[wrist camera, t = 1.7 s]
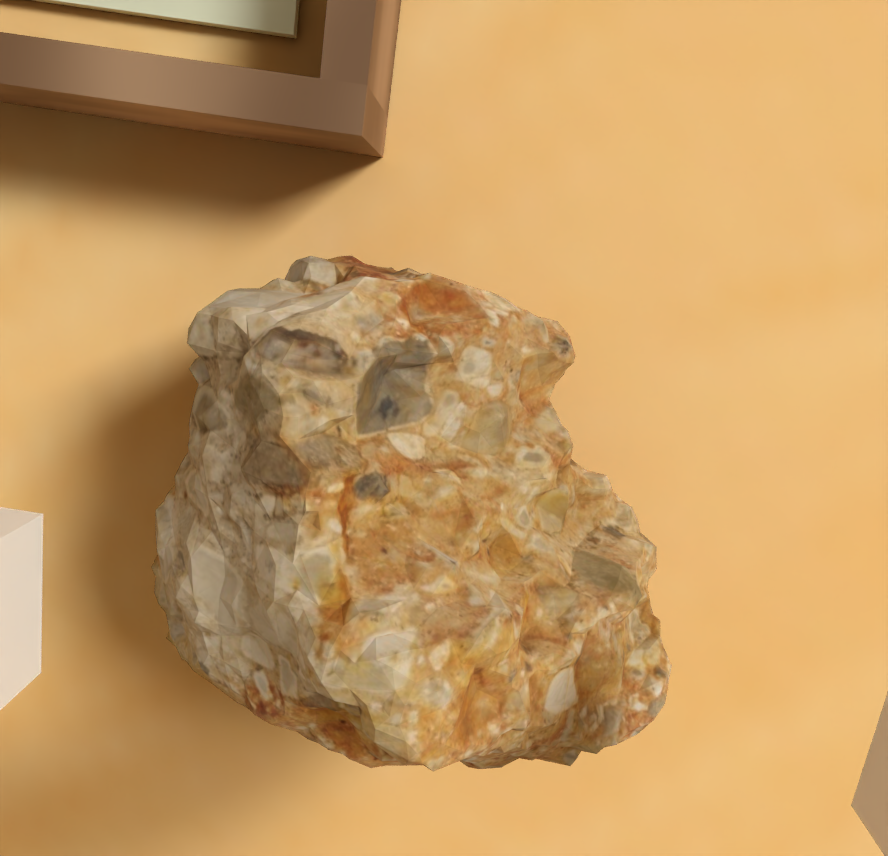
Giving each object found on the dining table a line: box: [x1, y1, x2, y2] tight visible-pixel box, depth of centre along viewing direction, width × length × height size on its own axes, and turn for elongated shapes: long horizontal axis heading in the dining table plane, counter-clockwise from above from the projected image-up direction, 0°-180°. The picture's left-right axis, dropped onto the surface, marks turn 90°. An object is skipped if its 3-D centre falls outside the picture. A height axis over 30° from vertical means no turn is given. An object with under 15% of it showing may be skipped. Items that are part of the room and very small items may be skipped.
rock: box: [152, 256, 672, 771], centre depth 16 cm, size 12×10×10 cm
